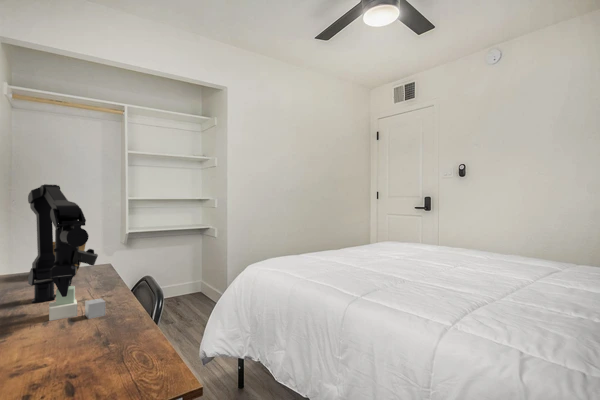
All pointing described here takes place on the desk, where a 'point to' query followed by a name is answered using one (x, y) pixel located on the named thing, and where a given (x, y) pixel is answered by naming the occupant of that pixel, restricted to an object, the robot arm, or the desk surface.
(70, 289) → the sage cube
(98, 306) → the grey cube
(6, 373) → the desk surface
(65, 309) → the cream block
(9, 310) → the desk surface
